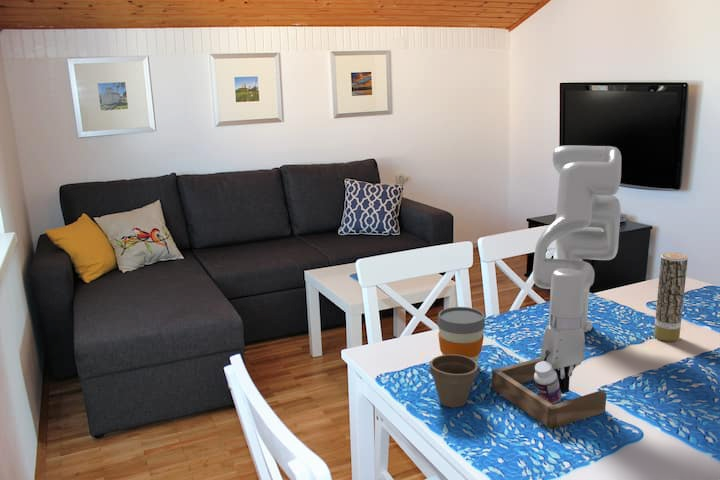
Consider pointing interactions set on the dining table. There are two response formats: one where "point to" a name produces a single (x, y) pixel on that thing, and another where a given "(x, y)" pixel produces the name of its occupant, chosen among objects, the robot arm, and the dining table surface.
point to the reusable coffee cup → (461, 331)
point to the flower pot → (453, 378)
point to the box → (546, 413)
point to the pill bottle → (547, 382)
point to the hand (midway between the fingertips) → (561, 390)
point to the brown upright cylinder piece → (670, 296)
